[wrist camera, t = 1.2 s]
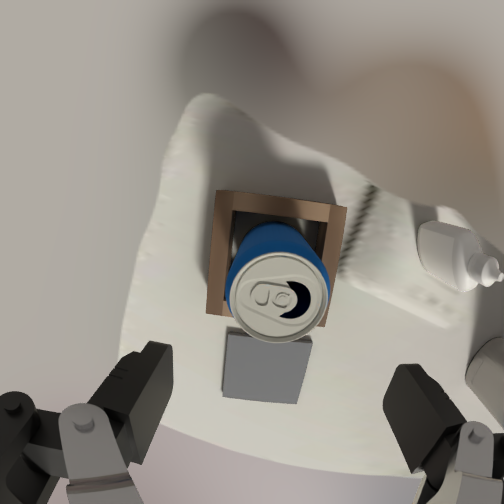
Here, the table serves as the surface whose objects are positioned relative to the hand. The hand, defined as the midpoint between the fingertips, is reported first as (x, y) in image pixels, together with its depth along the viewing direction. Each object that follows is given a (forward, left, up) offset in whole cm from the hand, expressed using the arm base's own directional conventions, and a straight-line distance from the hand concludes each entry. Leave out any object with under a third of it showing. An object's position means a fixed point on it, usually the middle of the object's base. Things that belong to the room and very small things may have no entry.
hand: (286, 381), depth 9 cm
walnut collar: (0, 0, -19) cm, 19 cm away
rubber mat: (-1, +13, -19) cm, 23 cm away
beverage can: (0, 0, -20) cm, 20 cm away
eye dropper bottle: (-17, -3, -20) cm, 26 cm away
